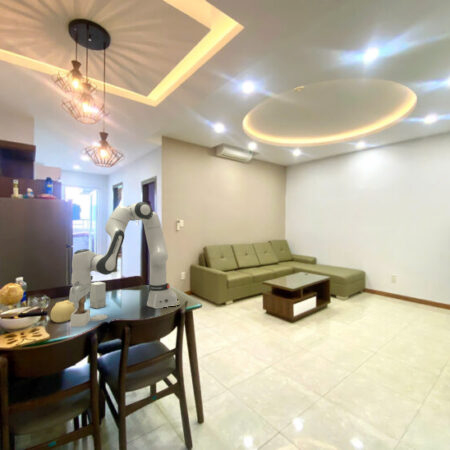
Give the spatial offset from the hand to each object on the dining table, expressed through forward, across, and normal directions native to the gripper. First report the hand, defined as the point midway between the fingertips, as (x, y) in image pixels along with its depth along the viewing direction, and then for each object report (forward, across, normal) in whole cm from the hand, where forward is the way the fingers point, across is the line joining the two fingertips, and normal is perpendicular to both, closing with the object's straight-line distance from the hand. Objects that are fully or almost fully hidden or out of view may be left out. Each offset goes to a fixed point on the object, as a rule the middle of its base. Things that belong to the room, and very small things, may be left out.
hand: (80, 305), depth 130 cm
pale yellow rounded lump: (+11, +8, +11) cm, 17 cm away
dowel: (+10, 0, 0) cm, 10 cm away
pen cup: (+10, 0, 0) cm, 11 cm away
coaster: (+10, +8, -7) cm, 15 cm away
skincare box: (+11, +28, 0) cm, 30 cm away
